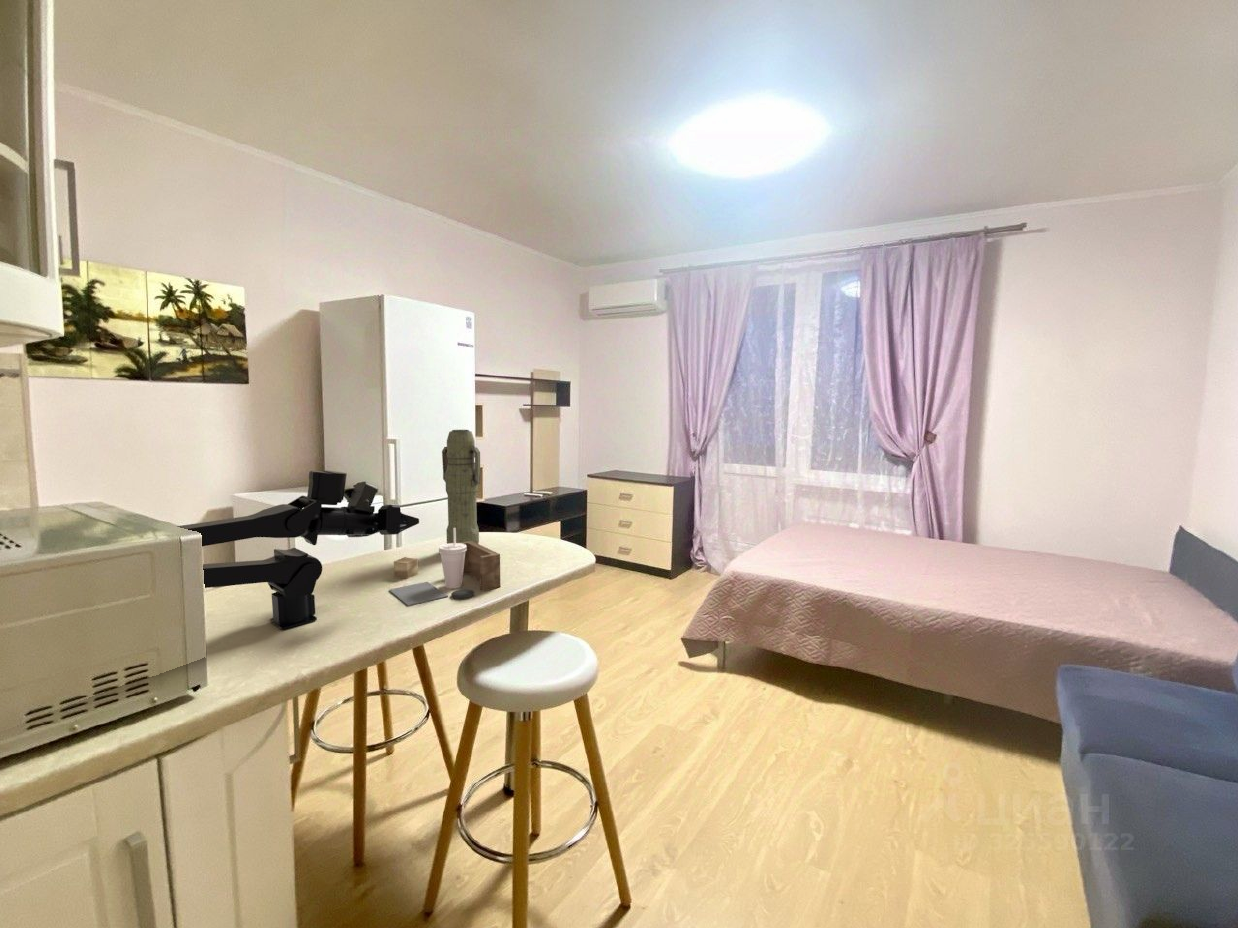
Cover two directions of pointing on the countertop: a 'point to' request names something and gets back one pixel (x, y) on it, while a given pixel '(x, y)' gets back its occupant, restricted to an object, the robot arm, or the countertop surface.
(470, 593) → the dark grey disc
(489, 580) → the cubby
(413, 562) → the oak cube
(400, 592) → the mat
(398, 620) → the countertop surface
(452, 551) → the smoothie
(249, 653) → the countertop surface
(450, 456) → the thermos
